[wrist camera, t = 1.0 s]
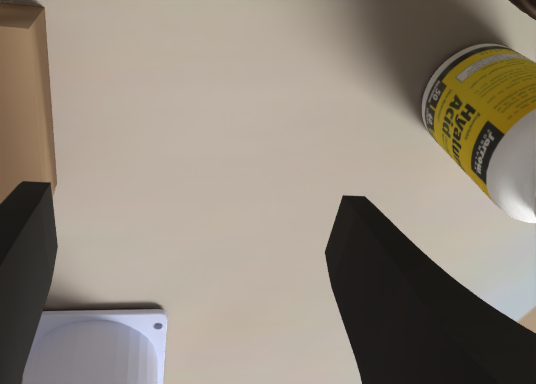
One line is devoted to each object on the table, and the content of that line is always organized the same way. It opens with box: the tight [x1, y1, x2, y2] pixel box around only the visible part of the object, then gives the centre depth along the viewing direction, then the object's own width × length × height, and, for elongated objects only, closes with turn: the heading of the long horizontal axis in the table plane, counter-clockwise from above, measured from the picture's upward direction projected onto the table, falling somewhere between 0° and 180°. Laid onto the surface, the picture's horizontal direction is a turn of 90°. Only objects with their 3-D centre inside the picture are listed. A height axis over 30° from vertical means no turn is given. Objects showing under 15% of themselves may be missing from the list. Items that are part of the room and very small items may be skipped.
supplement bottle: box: [422, 44, 536, 223], centre depth 21 cm, size 5×5×10 cm
